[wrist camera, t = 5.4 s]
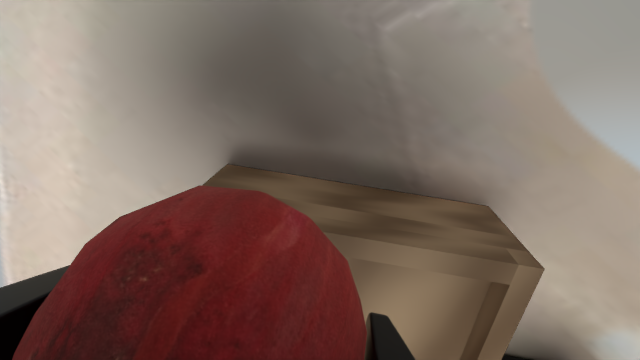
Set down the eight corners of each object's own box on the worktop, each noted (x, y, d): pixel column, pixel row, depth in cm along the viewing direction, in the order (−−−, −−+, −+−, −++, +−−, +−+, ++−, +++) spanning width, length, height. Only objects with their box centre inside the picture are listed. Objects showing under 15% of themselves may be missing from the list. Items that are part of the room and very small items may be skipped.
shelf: (488, 206, 18) (544, 269, 13) (428, 369, 23) (451, 464, 17) (227, 164, 19) (176, 207, 13) (222, 331, 23) (183, 412, 18)
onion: (164, 142, 9) (-757, 511, 2) (370, 152, 8) (451, 828, 1) (189, 308, 11) (-168, 818, 4) (358, 325, 10) (352, 981, 3)
